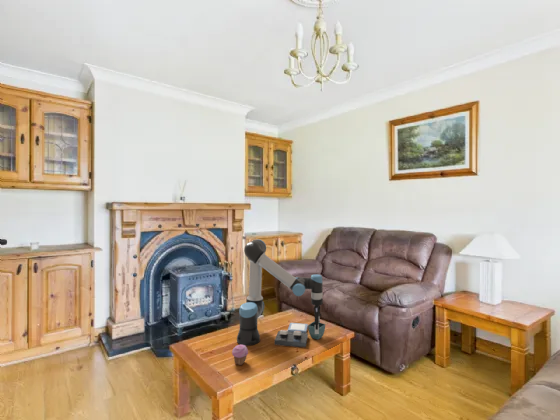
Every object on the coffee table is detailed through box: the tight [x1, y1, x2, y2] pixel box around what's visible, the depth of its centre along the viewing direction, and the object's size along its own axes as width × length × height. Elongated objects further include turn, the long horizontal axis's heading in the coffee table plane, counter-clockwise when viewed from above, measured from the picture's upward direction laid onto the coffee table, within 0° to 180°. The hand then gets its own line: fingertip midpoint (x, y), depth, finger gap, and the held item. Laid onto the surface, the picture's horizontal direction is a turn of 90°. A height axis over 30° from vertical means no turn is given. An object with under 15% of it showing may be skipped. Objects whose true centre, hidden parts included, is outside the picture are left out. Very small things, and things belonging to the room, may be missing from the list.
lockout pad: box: [287, 322, 309, 333], centre depth 219 cm, size 13×13×2 cm
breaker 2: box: [294, 331, 302, 335], centre depth 199 cm, size 4×8×2 cm, turn 170°
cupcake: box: [231, 344, 249, 366], centre depth 172 cm, size 9×9×10 cm
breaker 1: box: [279, 329, 288, 335], centre depth 200 cm, size 4×8×2 cm, turn 170°
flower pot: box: [307, 320, 326, 341], centre depth 205 cm, size 9×9×9 cm
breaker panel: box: [274, 330, 309, 348], centre depth 200 cm, size 20×14×4 cm
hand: (317, 329), depth 205 cm, fingers open, 13 cm apart
